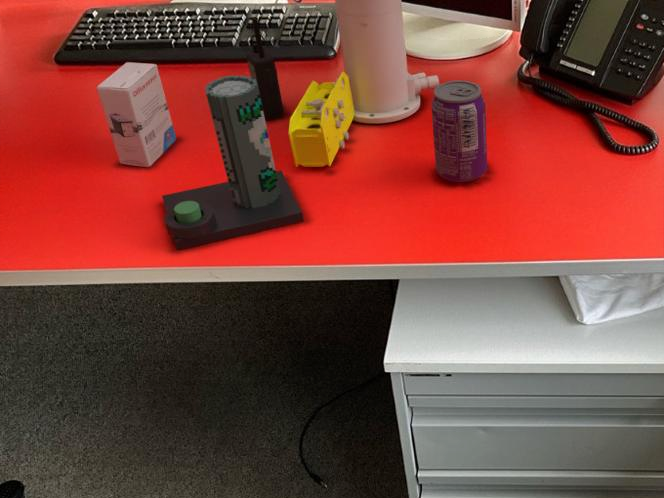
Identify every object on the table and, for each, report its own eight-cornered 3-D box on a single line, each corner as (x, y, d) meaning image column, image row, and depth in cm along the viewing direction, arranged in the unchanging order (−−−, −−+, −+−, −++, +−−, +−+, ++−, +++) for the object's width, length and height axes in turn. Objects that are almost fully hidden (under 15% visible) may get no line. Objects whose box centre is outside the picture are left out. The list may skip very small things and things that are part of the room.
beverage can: (494, 164, 125) (492, 82, 117) (477, 189, 120) (473, 105, 112) (447, 157, 127) (442, 76, 119) (428, 181, 122) (421, 98, 114)
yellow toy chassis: (334, 171, 124) (323, 115, 119) (294, 171, 125) (282, 115, 119) (358, 119, 136) (349, 66, 131) (322, 120, 137) (312, 66, 131)
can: (283, 202, 116) (260, 91, 106) (236, 211, 114) (208, 100, 104) (275, 180, 120) (252, 72, 110) (229, 189, 119) (202, 80, 109)
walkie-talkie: (256, 110, 140) (236, 12, 130) (277, 105, 141) (258, 8, 131) (267, 122, 136) (246, 23, 126) (288, 116, 138) (269, 18, 128)
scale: (283, 179, 123) (279, 159, 121) (305, 223, 115) (301, 202, 113) (161, 205, 119) (155, 185, 117) (174, 253, 110) (167, 232, 108)
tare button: (199, 209, 113) (196, 198, 112) (203, 221, 111) (200, 210, 110) (175, 214, 112) (172, 204, 111) (179, 226, 110) (175, 215, 109)
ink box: (148, 137, 133) (125, 60, 126) (179, 140, 133) (158, 62, 125) (119, 165, 127) (92, 86, 119) (151, 168, 126) (127, 88, 119)
